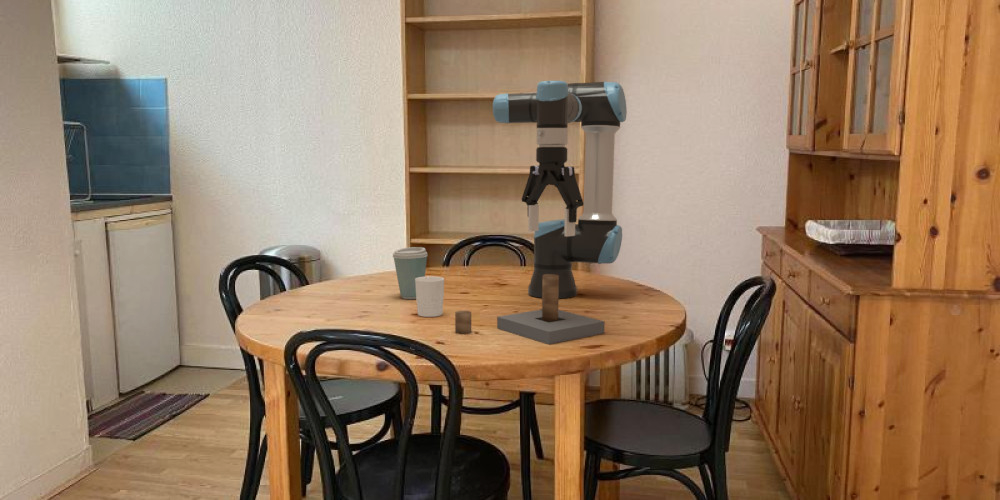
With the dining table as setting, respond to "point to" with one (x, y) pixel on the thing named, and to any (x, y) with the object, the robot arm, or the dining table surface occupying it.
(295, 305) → the dining table surface
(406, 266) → the disposable coffee cup
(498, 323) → the hole plate
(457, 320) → the short pin
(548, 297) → the tall pin
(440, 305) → the white cup
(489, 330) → the dining table surface
